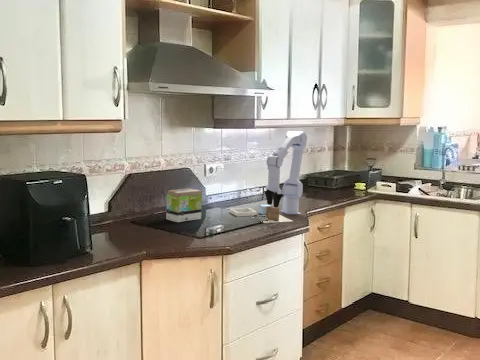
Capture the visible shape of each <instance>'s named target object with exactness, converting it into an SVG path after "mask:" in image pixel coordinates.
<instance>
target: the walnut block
mask: <svg viewBox="0 0 480 360" xmlns="http://www.w3.org/2000/svg"><path fill="white" fill-rule="evenodd" d="M279 215H280V206H278V207H274V205H271V206H266V215H265V216H266V218H268V219H269V220H279Z"/></svg>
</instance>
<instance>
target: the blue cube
mask: <svg viewBox="0 0 480 360" xmlns="http://www.w3.org/2000/svg"><path fill="white" fill-rule="evenodd" d="M266 206H272V205H268V204H266V203H265V204H259V210H258V214H260V215H261V216H266Z"/></svg>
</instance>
